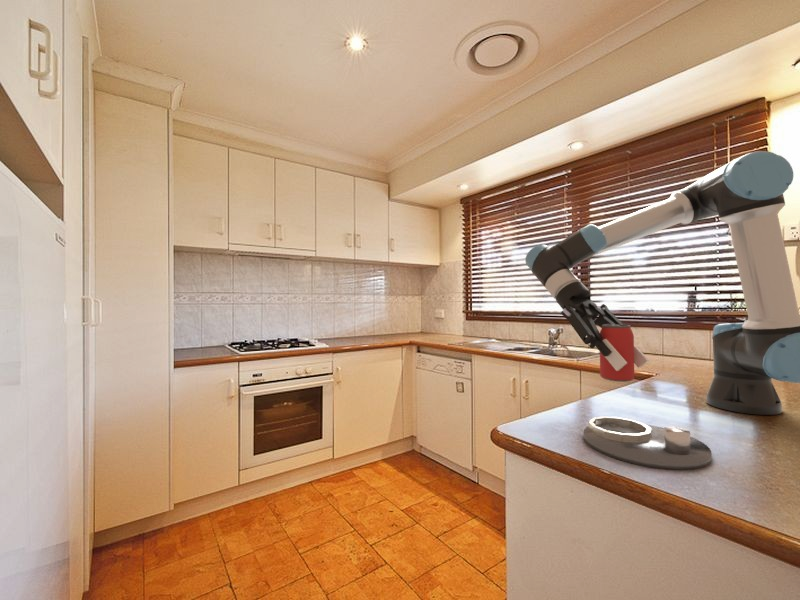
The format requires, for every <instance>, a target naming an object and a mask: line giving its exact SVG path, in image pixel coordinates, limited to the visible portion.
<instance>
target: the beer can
mask: <svg viewBox="0 0 800 600" xmlns="http://www.w3.org/2000/svg"><path fill="white" fill-rule="evenodd" d="M631 327H632V326H631V325H629V324H624V325H619V324H606V325H602V328H601V329H600V330H599V332H600V334H601V336H602V338H603V339H602V341H603V340H604V339H607V340H608V341H609V342H610V343H611V345H612V346H613V347H614V348H615V349H616V350H617V351H618V353H619V354H620V355H621V356H622V357H623V358H624V360H625V361H626V362H627V364H626V365H625V366H624V367H622V368H621V369H620V370H619V371H616V370H615V369H614V367H613V366H612V365H611V364H610V363H609V361H608V360H607V359H606V358H605V356H604V355H602V353H601V352H600V351H599V375H600V378H602V379H604V380H606V381H610V382H611V381H612V382H619V383H620V382H621V383H622V382H624V383H627V382H631V381H633V380H634V379H635V363H634V344H635V340H634V339H635V337H634V333H633V330H632V328H631Z"/></svg>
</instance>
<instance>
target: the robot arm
mask: <svg viewBox="0 0 800 600" xmlns="http://www.w3.org/2000/svg"><path fill="white" fill-rule="evenodd" d="M793 180H794V170H793V167H792V165H791V163H790V162H789V160H787V158H785V157H784V156H782V155H779V154H777V153H774V152H771V151H766V150H763V151H762V150H758V151H754V152H753V151H752V152H749V153H746V154H744V155H741V156H739V157H736V158H734V159H731V161H729V162H728V163H726V164H725V165H723V166H721V167H719V168H717V169H715V170H713V171H711V172H710V173H708V174H706V175H705V176H703V177H701V178H700V179H698V180H697V181H695V182H693V183H691V184H690V185H688V186H686V187H684V188H682V189H680V190H677V191H675V192H673V193H671V195H670V197H669V198H667V199H665V200H662V201H659V202H658V203H654V204H652V205H649V206H648V207H645V208H643V209H639V210H637V211H635V212H632V213H630V214H627V215H625V216H622V217H620V218H617V219H615V220H612V221H609V222H607V223H605V224H602V225H600V226H597V225H595V224H592V223H591V224H587V225H585V226H584V227H582V228H580V229H578V230H577V231H575V232H574V233H572V234H571V235H569V236H567V237H566V238H564V239H563V240H562V241H561V240H560V242H558V243H557V244H556V243H555V245H553V246H551V247H550V246H548V244H547V245H546V244H543V243H541V244H540V245H535V246H534V247H532V248H531V249H530V250H529V251H528V253H526V256H525V259H524V260H525V264H526V266H527V267H528V268H529V270H530V271H531V272H532V275H534V276H535V278H537V280H538V281H539V282H540V283H541V284H542V286H543V287H544V288H545V290H547V292H548V293H549V294H550V296H551V297H552V298H553V299H554V300H555V303H557V304H558V306H560V308H561V309H562V311H561V312H560V314H561V315H562V316H563V318H565V319H566V320H567V321H568V322H569V324H570V326H572V328H573V329H574V331H575V332H576V334H577V335H578V336H579V338H580V339H581V341H582V343H584V344H585V345H588V346H589V348H591V349H594V348H595V347H596V349H597V350H598V351H599V353H600V352H601V353H602V355H604V356H605V358H606V359H607V360H608V361H609V363H610V364H611V365H612V366H613V367H614V369H615V370H616V371H619V370H620V369H621V368H622V367H624V366H625V365H626V364H627V362H626V361H625V360H624V358H623V357H622V356H621V355H620V354H619V353H618V351H617V350H616V349H615V348H614V347H613V346H612V345H611V343H610V342H609V341H608V340H607V339H604V340H603V341H602V339H603V338H602V336H601V334H600V330H599V329H598V327H597V326H599V327H600V328H601V329H602V325H606V324H619V325H625V324H624V323H623V322H622V321H621V320H620V319H619V318H618V317H617V316H615V314H614V313H613V312H611V310H610V309H609V308H608V306H607V305H606V304H604V303H603V304H601V305H600V306H599V305H597V303H595V302H594V301H592V300H591V291H590V290H589V289H588V287H587V286H586V285H585V284H584V283H583V282H581V280H580V279H579V278H578V277H577V276H576V275H575V274H574V273H573V272H572V270H571V269H572V268H574V267H575V266H577V265H579V264H581V263H582V262H584V261H585V260H587V259H590V258H592V257H594V256H596V255H599V254H602V253H604V252H607V251H610V250H612V249H616V248H617V247H621V246H623V245H625V244H629V243H630V242H631V243H632V242H633V241H637V240H639V239H641V238H645V237H646V236H649V235H652V234H655V233H658V232H660V231H663V230H666V229H667V228H670V227H674V226H675V225H678V224H682V225H689V224H691V223H694V222H697V221H699V220H704V219H707V218H711V217H715V216H718V220H719V221H721V222H722V223H725V224H727V225H728V227H729V233H730V236H731V237H730V238H731V242H732V246H733V250H734V256H735V261H736V264H737V269H738V270H737V271H738V275H739V279H740V284H741V285H740V286H741V289H742V292H743V293H742V294H743V298H744V303H745V308H746V312H747V313H746V314H747V316H748V317H747V318H748V319H747V320H746V321H745V322H735V323H734V322H733V323H732V322H731V323H729V322H728V323H718V324H715V325H714V326H713V328H712V330H713V331H712V337H711V338H712V347H713V348H712V351H713V354H712V355H713V378H712V381H710V385H709V387H708V390H707V393H706V397H705V399H706V401H705V402H706V403H707V404H708V405H710V406H712V407H715V408H718V409H721V410H726V411H729V412H730V411H731V412H736V413H741V414H749V415H750V414H751V415H759V416H760V415H761V416H763V415H764V416H775V415H780V414H782V413H783V403H782V401H781V399H780V397H779V394H778V392H777V390H776V388H775V386H774V383H773V380H775V381H778V382H785V383H786V382H787V383H792V384H800V311H799V307H798V302H797V297H796V293H795V289H794V284H793V283H794V282H793V278H792V275H791V270H790V265H789V261H788V257H787V251H786V246H785V242H784V237H783V233H782V229H781V224H780V218H779V215H778V214H779V212H781V210H782V209H783V208H784V207H785V206H786V202H785V201H786V200H785V195H784V193H785V192H786V191H787V190H788V189H789V187H790V185H792V183H793ZM649 361H650V359H649V358H648V357H647V356H646V355H645V353H644V352H642V350H641V349H640V348H639V347H638V346H637V345H636V344H635V343H634V366H636V367H637V368H639V369H640V368H642V367H643V366H644V365H645V364H647V362H649Z"/></svg>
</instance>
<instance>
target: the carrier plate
mask: <svg viewBox="0 0 800 600" xmlns="http://www.w3.org/2000/svg"><path fill="white" fill-rule="evenodd" d="M583 441H585V443H586V444H587V446H589V447H590V448H591V449H593V450H595V451H596V452H599V453H601V454H603V455H605V456H607V457H609V458H613V459H615V460H618V461H620V462H624V463H627V464H628V463H629V464H632V465H635V466H636V465H637V466H639V467H647V468H650V469H651V468H652V469H658V470H671V471H691V470H698V469H702V468H705V467H707V466H709V465H710V464H711V463H712V461H713V455H712V453H713V452H712V450H711V449H710V447H709V446H708V445H707V444H705V443H704V442H702V441H701V440H699V439H697V438H695V437H693V436H691V431H690V430H688V429H686V428H683V427H680V426H679V427H678V426H668V425H667V426H664V427H662V426H661V427H660V426H655V425H652V424H646V423H643V422H640V421H636V420H633V419H630V418H626V417H625V418H623V417H618V416H598V417H593V418H591V419H590V420H589V421H588V426H586V427H585V428H584V430H583Z"/></svg>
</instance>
